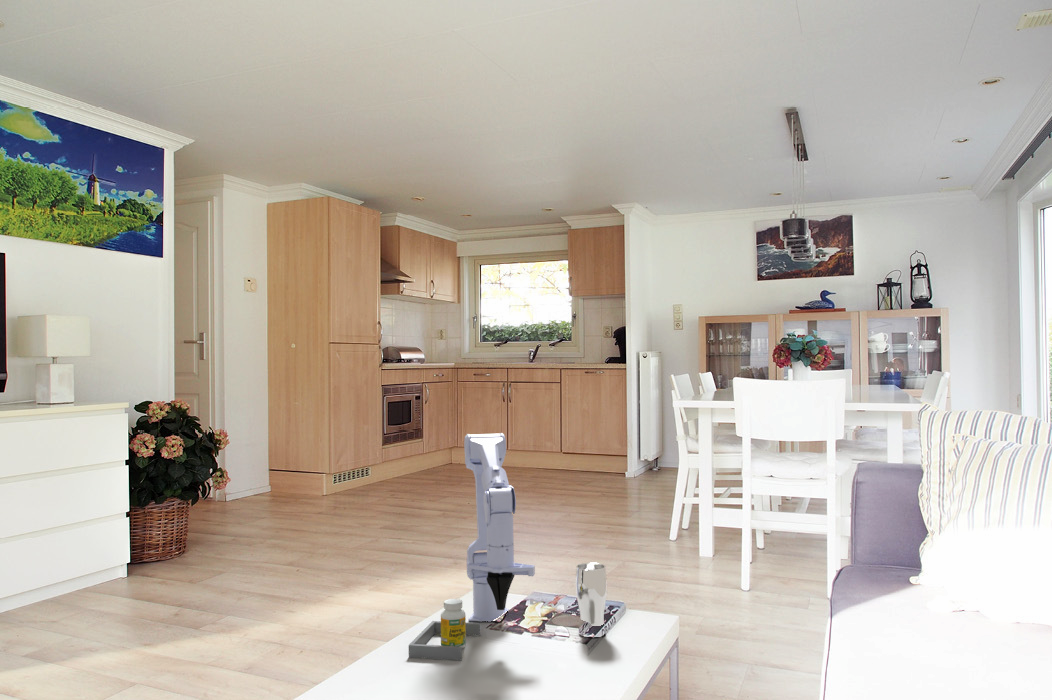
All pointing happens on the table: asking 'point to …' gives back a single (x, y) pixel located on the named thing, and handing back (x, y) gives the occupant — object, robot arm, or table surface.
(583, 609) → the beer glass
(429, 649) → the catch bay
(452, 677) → the table surface
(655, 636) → the table surface
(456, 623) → the supplement bottle
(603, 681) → the table surface
